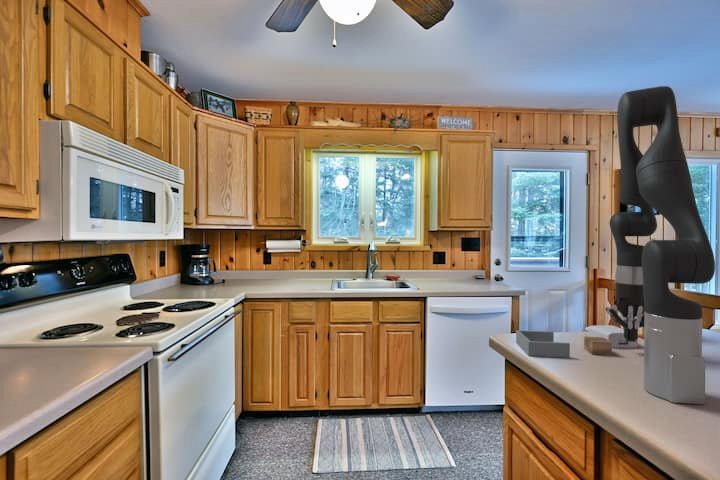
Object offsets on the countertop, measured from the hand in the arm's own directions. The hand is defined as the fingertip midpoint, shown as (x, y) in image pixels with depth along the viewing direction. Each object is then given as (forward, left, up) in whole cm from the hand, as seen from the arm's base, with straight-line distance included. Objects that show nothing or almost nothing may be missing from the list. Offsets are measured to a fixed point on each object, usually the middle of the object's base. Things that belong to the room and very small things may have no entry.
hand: (630, 340), depth 99 cm
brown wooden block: (-1, +9, -4) cm, 10 cm away
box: (0, +24, -4) cm, 24 cm away
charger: (+12, +1, -4) cm, 13 cm away
